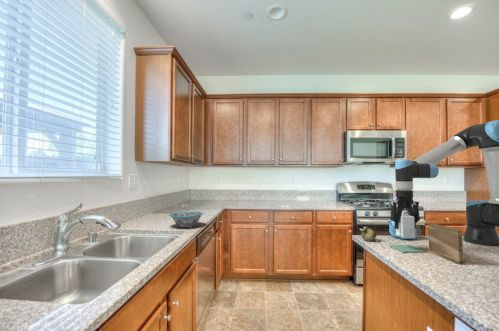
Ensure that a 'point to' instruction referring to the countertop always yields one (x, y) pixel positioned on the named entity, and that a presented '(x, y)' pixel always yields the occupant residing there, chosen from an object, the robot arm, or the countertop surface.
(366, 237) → the onion
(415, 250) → the mat
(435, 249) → the screen
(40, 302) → the countertop surface
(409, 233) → the small box
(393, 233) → the teapot
